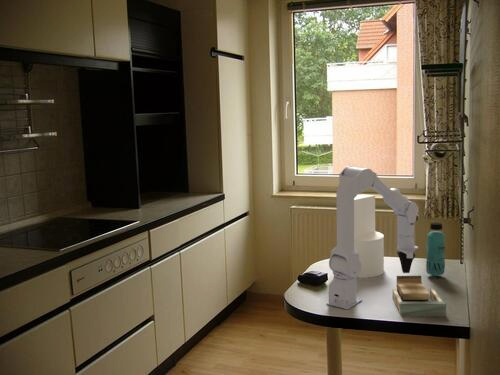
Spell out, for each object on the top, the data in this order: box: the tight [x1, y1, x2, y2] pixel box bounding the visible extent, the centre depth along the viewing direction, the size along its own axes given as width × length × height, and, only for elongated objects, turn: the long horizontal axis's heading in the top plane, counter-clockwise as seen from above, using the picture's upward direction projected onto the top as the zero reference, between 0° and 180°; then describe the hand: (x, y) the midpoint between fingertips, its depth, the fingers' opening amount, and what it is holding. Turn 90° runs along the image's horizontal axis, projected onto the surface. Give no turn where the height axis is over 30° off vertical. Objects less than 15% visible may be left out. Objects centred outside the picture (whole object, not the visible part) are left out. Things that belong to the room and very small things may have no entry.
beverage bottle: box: [425, 221, 446, 276], centre depth 193 cm, size 6×7×20 cm
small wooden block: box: [396, 275, 430, 302], centre depth 176 cm, size 12×8×5 cm, turn 175°
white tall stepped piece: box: [354, 194, 385, 279], centre depth 203 cm, size 17×17×28 cm
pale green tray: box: [392, 288, 447, 317], centre depth 167 cm, size 16×13×4 cm
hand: (405, 272), depth 186 cm, fingers closed
